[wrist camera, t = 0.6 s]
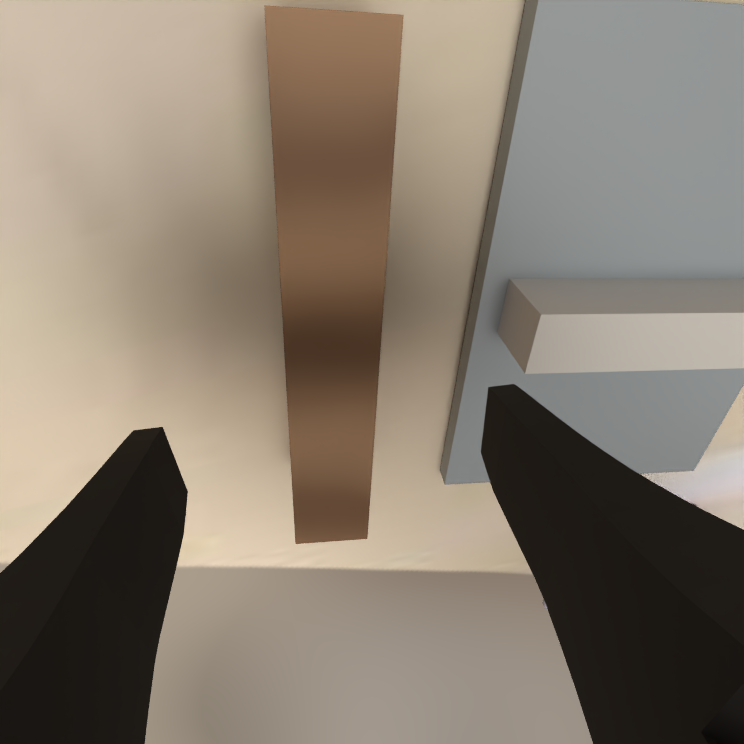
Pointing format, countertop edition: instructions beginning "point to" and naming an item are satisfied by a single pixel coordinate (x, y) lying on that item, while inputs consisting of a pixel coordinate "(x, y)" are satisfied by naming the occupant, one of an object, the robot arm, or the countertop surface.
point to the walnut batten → (332, 247)
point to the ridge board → (614, 233)
